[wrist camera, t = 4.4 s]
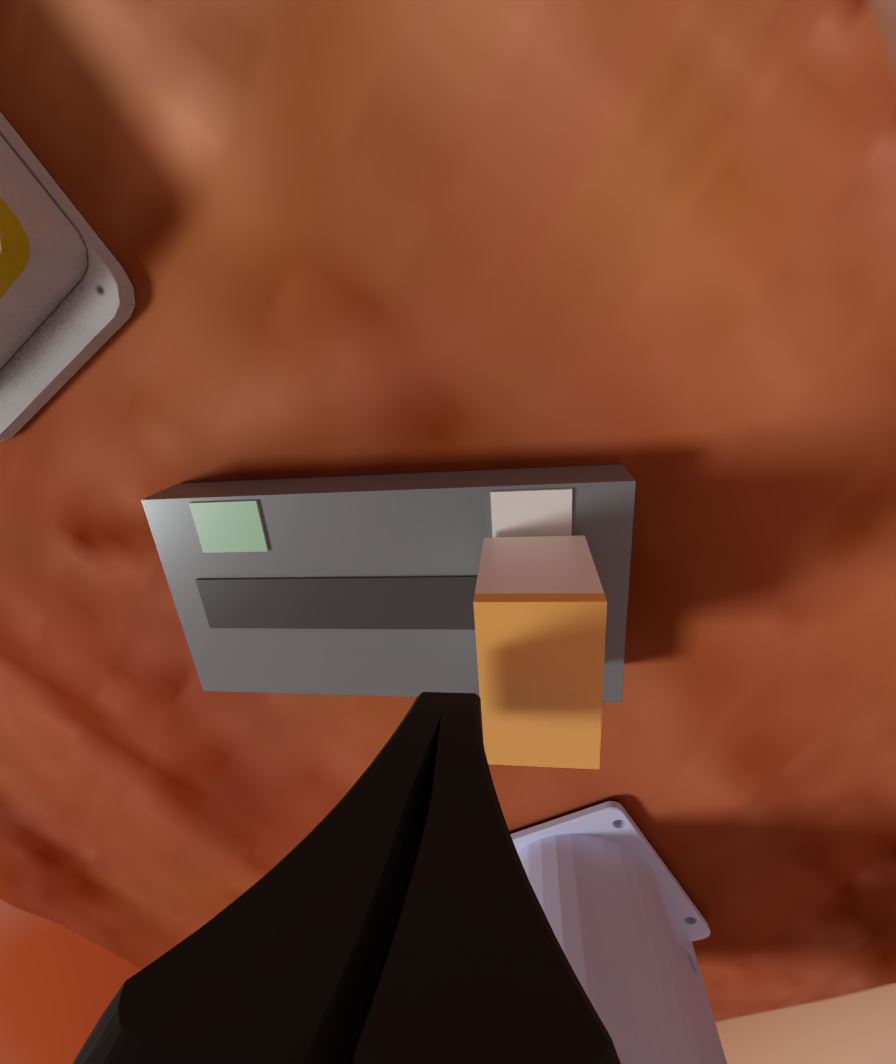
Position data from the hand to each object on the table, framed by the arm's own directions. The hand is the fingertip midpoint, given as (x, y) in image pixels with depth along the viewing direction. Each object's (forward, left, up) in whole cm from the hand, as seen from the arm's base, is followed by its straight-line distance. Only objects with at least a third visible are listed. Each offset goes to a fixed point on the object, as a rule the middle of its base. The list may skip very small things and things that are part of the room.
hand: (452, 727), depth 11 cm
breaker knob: (-1, -2, -5) cm, 5 cm away
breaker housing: (+2, +3, -8) cm, 8 cm away
